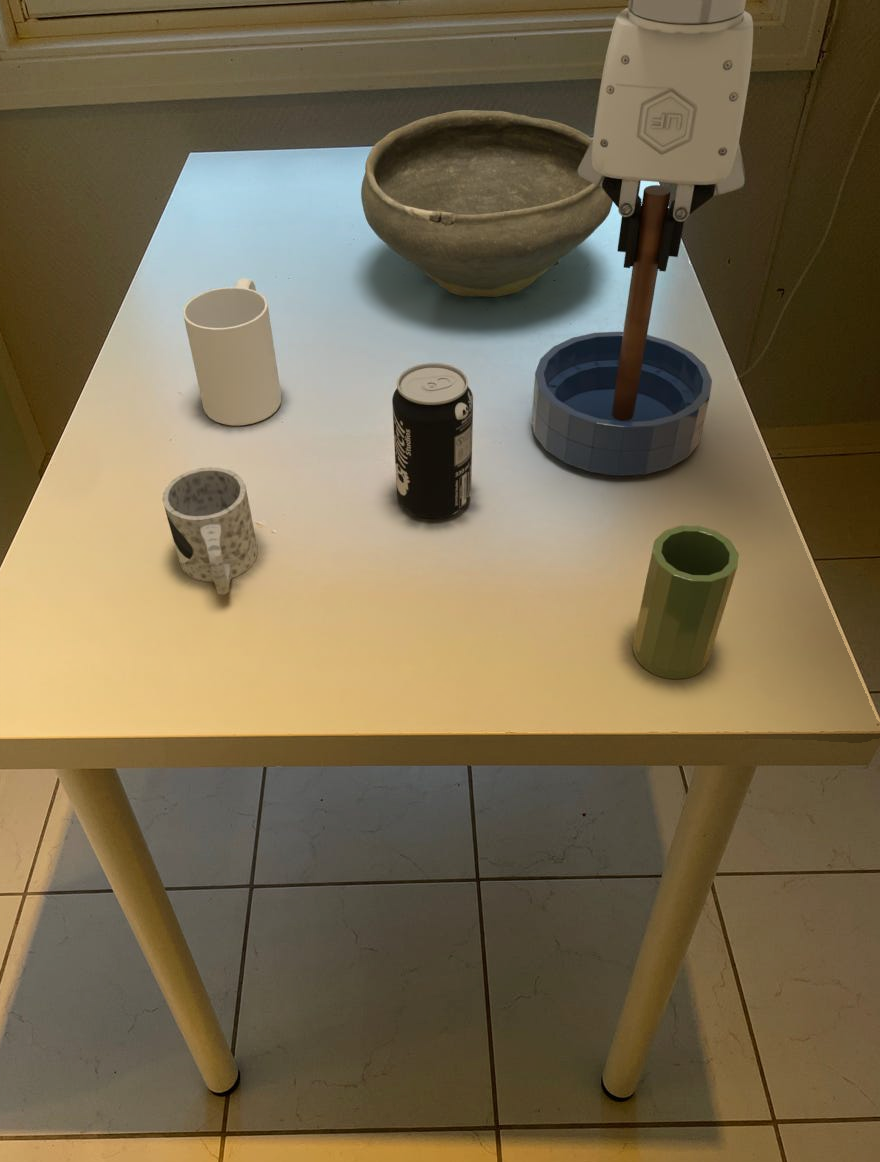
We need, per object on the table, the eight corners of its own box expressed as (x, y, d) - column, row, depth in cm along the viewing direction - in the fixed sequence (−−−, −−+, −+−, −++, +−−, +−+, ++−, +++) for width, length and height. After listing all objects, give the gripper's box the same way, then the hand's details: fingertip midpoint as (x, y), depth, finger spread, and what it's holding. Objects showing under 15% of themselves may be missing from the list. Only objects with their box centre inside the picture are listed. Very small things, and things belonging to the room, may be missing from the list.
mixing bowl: (704, 397, 95) (717, 342, 90) (690, 494, 85) (704, 437, 80) (548, 377, 98) (553, 323, 94) (516, 468, 88) (520, 412, 84)
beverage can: (385, 489, 87) (378, 372, 78) (450, 468, 89) (450, 352, 80) (416, 532, 83) (412, 413, 74) (484, 509, 84) (488, 391, 76)
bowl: (404, 216, 125) (400, 98, 115) (618, 235, 119) (634, 113, 109) (335, 324, 107) (323, 196, 97) (583, 353, 101) (598, 220, 91)
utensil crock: (711, 631, 74) (740, 532, 66) (705, 686, 70) (735, 588, 63) (637, 617, 75) (658, 519, 68) (627, 671, 71) (648, 573, 64)
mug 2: (176, 536, 83) (160, 474, 79) (252, 523, 84) (240, 461, 79) (185, 616, 77) (167, 554, 72) (267, 601, 78) (255, 539, 73)
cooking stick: (634, 410, 88) (672, 185, 73) (632, 422, 87) (669, 196, 72) (613, 407, 88) (645, 183, 74) (610, 419, 87) (642, 194, 72)
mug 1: (272, 429, 94) (256, 330, 86) (194, 425, 95) (171, 327, 87) (297, 362, 102) (285, 266, 94) (225, 359, 103) (207, 264, 95)
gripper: (558, 4, 63) (539, 274, 76) (814, 13, 59) (747, 294, 73) (577, -27, 68) (555, 232, 81) (815, -20, 64) (751, 250, 78)
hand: (646, 260), depth 77 cm, fingers closed on cooking stick, 2 cm apart
